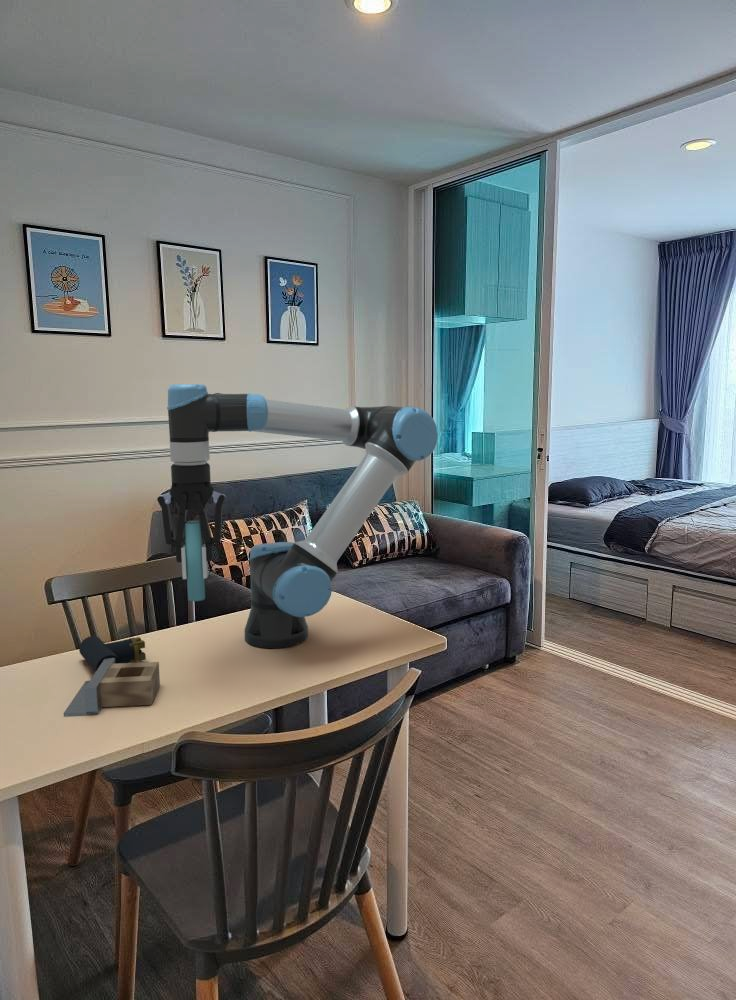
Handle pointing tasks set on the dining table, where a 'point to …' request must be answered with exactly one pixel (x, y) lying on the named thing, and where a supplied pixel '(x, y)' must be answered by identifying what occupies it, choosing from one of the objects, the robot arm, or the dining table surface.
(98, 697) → the grey wedge ramp
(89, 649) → the pipe connector
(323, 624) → the dining table surface
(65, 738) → the dining table surface
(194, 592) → the dowel
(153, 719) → the dining table surface
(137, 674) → the socket block
